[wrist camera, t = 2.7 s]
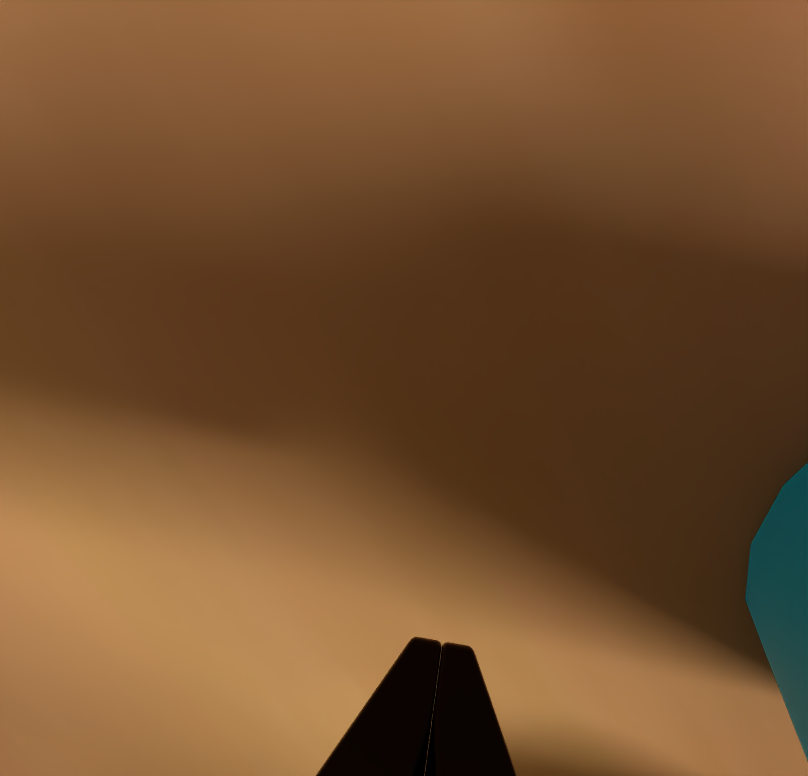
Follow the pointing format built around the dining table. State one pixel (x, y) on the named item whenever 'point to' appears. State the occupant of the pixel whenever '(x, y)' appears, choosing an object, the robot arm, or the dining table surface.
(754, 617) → the mug
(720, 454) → the dining table surface
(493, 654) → the dining table surface
